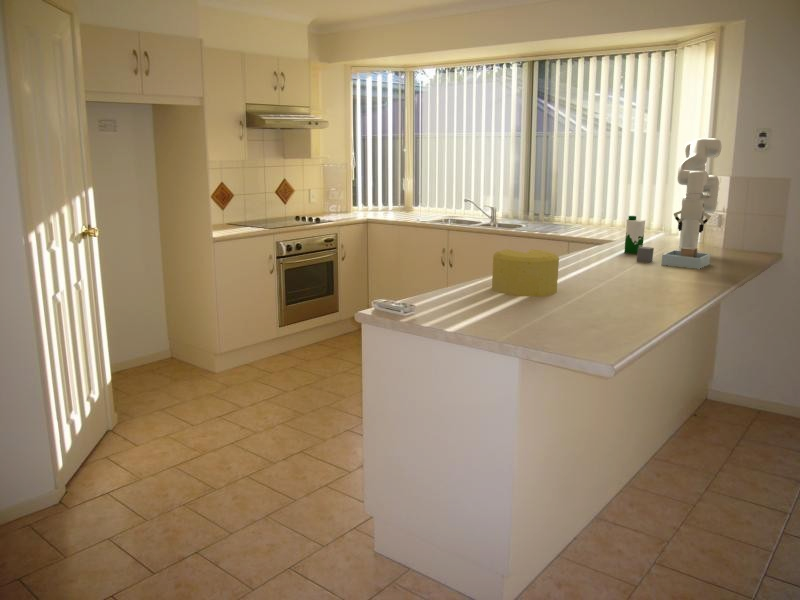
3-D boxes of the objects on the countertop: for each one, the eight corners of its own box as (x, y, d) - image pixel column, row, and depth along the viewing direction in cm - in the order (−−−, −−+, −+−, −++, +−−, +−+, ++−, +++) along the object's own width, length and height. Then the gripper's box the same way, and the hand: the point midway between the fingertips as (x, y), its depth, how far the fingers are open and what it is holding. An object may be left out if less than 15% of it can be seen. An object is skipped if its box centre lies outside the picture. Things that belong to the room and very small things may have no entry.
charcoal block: (640, 260, 354) (641, 246, 352) (652, 261, 351) (653, 247, 349) (636, 261, 349) (637, 247, 348) (648, 262, 346) (649, 249, 344)
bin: (672, 260, 354) (673, 250, 353) (709, 264, 343) (710, 254, 342) (661, 264, 340) (662, 254, 339) (699, 269, 329) (700, 258, 328)
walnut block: (683, 260, 349) (685, 247, 347) (695, 262, 345) (697, 248, 344) (679, 262, 344) (681, 248, 343) (692, 263, 341) (693, 249, 339)
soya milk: (627, 251, 382) (631, 215, 378) (644, 252, 377) (647, 216, 372) (622, 253, 375) (625, 216, 371) (638, 254, 370) (642, 217, 365)
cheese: (512, 280, 297) (514, 246, 293) (568, 289, 281) (570, 253, 277) (479, 289, 277) (481, 253, 274) (537, 300, 261) (539, 261, 258)
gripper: (714, 197, 335) (710, 232, 339) (678, 195, 345) (674, 229, 349) (710, 198, 329) (706, 233, 333) (673, 196, 340) (670, 230, 343)
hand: (690, 231), depth 341 cm, fingers open, 9 cm apart
